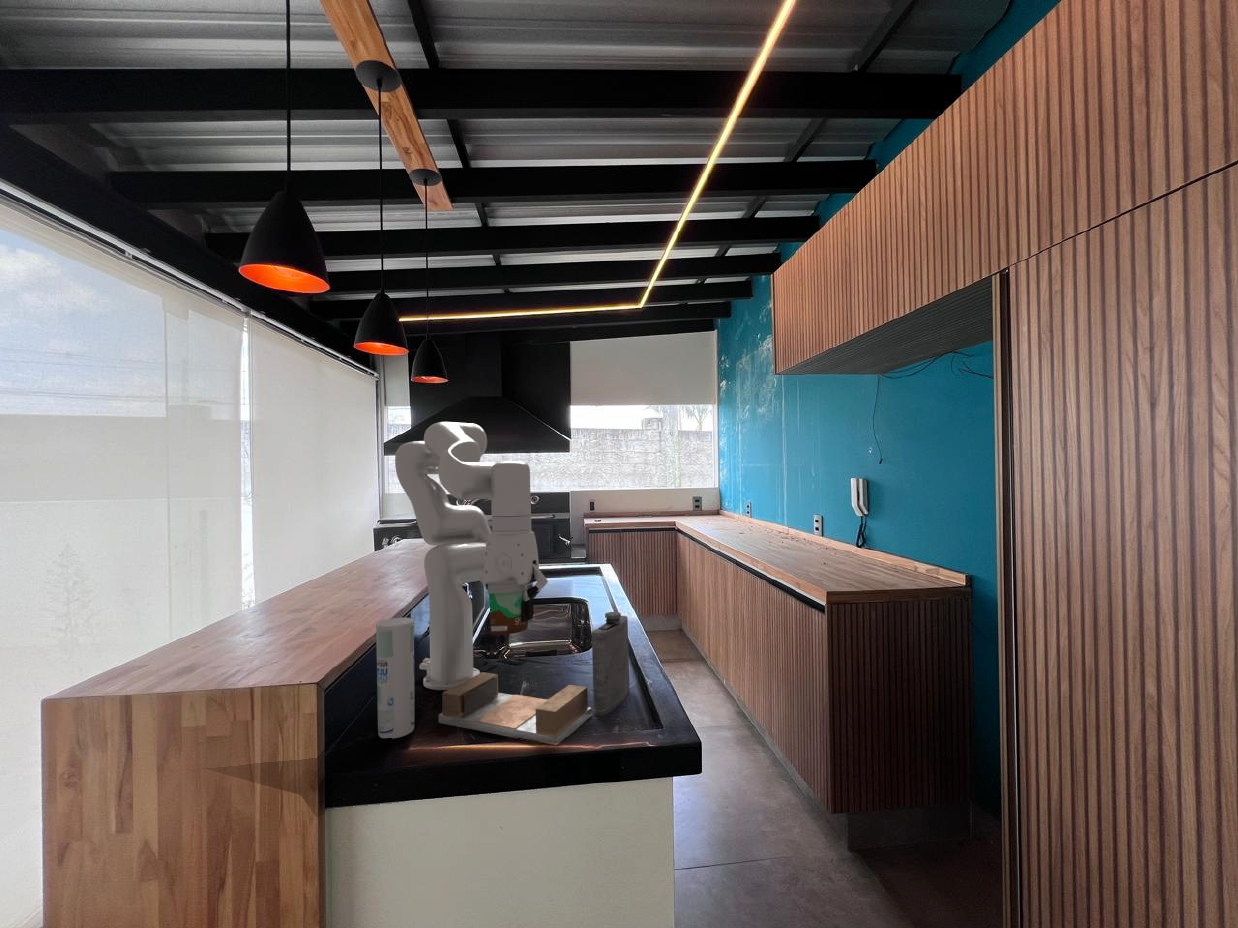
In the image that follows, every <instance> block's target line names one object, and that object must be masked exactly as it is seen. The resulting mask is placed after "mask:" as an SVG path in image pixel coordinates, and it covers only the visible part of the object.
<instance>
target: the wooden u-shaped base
mask: <svg viewBox="0 0 1238 928" xmlns="http://www.w3.org/2000/svg"><path fill="white" fill-rule="evenodd" d="M441 695H442V696H441V699H442V702H441V703H442V708H441V709H442V710H441V711H442V712H441V713H439V714H438V723H439V724H444V725H448V726H454V727H459V728H464V729H469V730H475V731H479V732H483V733H484V732H485V733H489V734H495V735H499V736H504V737H508V738H514V739H518V738H523V739H533V740H540V741H546V742H552V743H558V742H559V741H561V740H562V739H564V738H565V737H567V738H568V737H569V736H570V735H571V734H573V733H574V732H575V731H576V730H577V729H579V727H581V726H582V725H583V724H584V723H585V722H587V720H588V719H589V718H591V717H592V707H589V700H588V695H589V694H588V687H587V686H581V685H574V684H568V685H566V686H565V687H564V688H562V689H560V690H559V691H558V692H556V693H555V694H554V695H552V696H551V697H549V698H548V699H545V698H540V697H539V698H538V697H533V696H528V695H521V694H507V693H502V692H499V674H497V673H490V672H485V671H483V672H482V671H481V672H480V674H478V675H476V676H474V677H472V678H470V679H468V680H466V681H464V682H462V683H460V684H458V685H456V686H454V687H453V688H451V689H449V690H444V691H443V692H442V694H441ZM523 739H522V740H523Z"/></svg>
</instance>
